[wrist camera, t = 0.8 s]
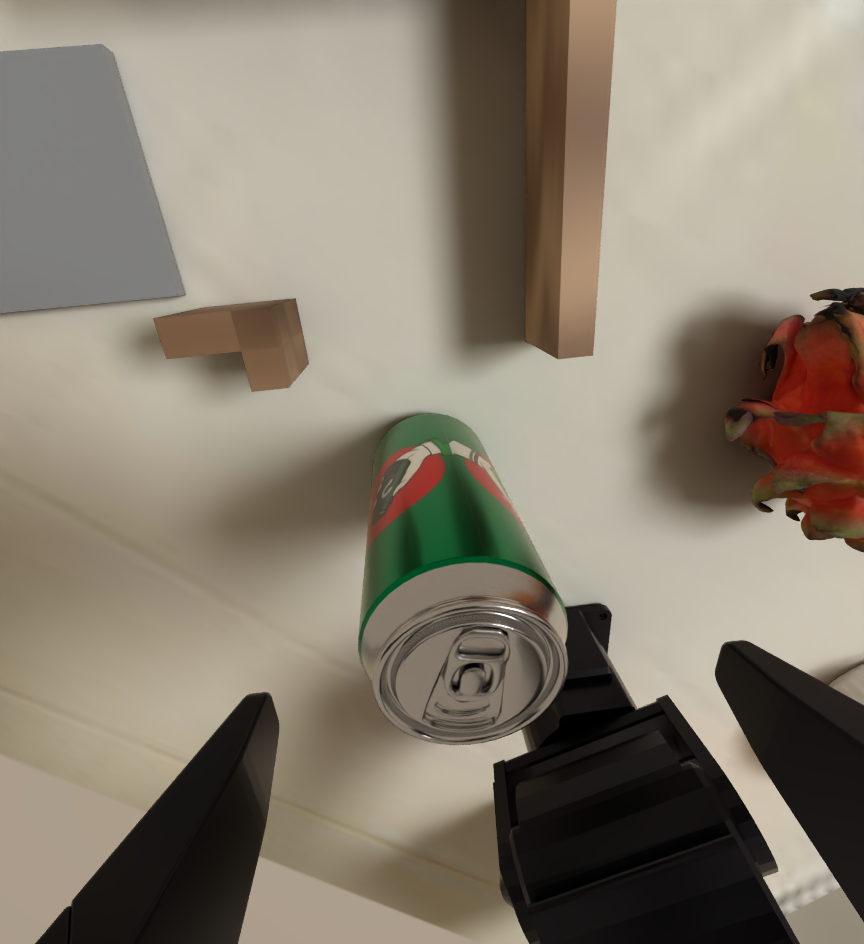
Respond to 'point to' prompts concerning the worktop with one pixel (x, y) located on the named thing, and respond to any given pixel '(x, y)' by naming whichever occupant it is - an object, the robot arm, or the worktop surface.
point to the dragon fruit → (813, 420)
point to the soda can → (454, 593)
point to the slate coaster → (75, 187)
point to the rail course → (547, 209)
